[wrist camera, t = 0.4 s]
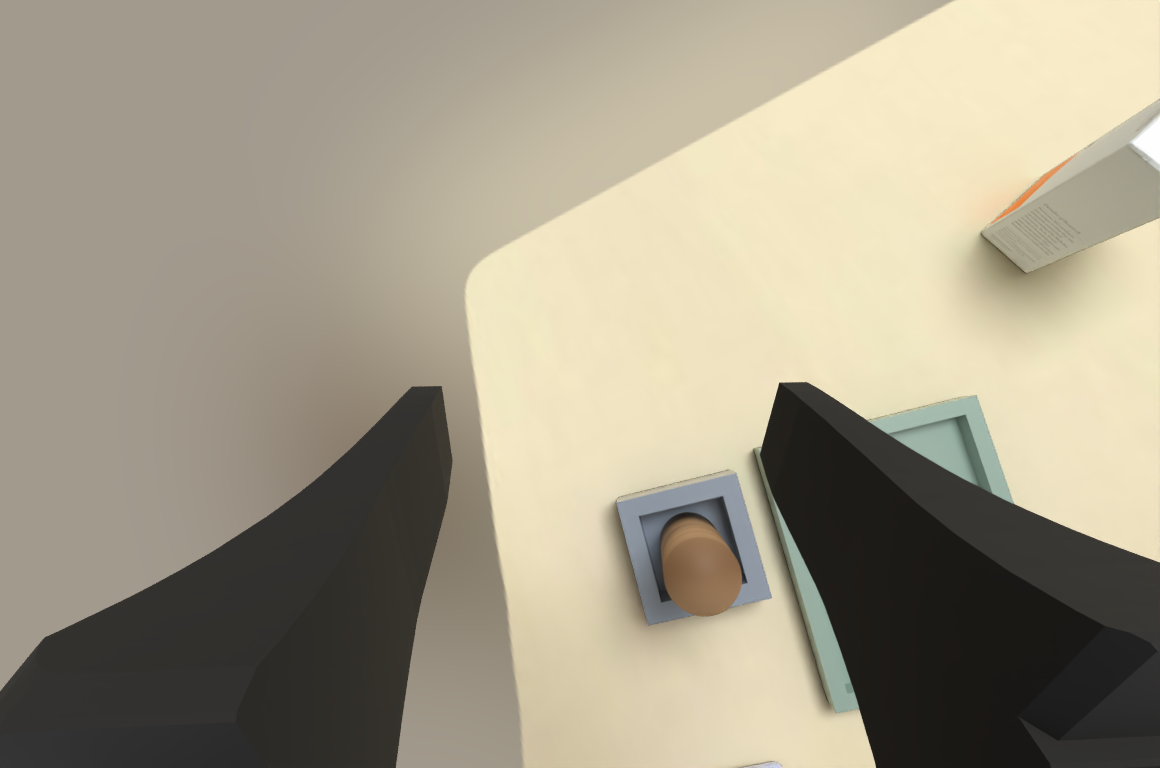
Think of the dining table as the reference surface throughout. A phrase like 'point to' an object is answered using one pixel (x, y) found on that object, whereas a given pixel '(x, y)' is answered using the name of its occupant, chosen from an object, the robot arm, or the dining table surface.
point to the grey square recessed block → (699, 495)
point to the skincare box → (1086, 196)
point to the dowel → (698, 565)
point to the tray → (940, 436)
